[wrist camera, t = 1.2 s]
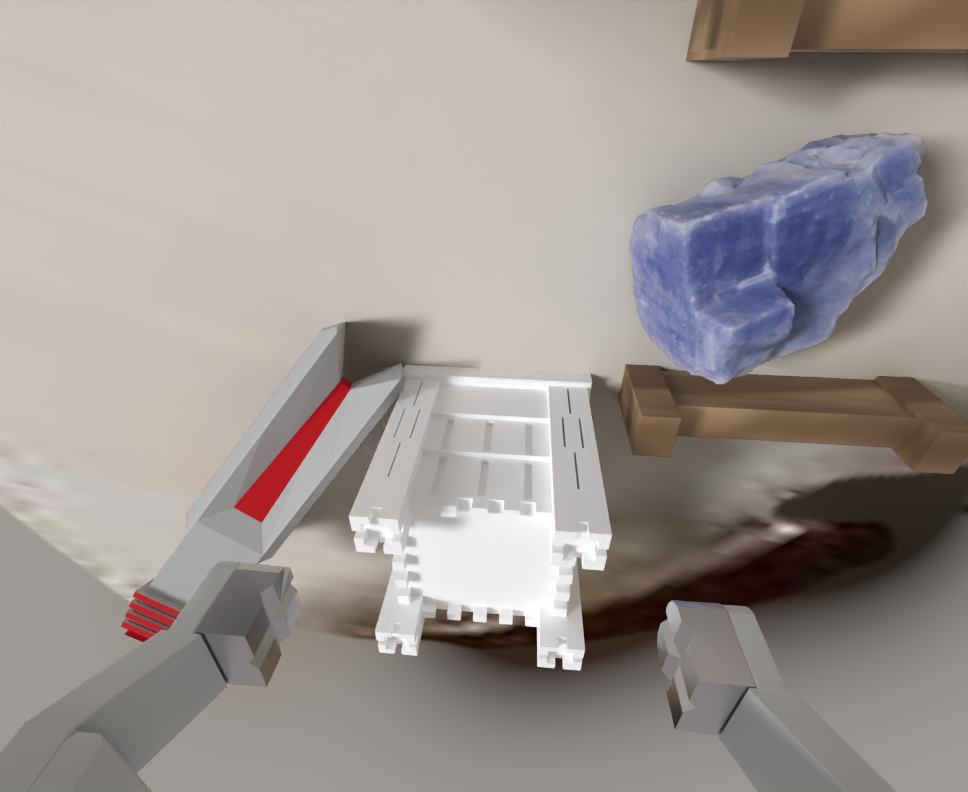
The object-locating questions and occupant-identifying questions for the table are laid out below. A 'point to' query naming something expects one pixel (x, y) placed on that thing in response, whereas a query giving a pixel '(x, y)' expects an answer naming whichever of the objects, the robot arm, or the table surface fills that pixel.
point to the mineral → (774, 252)
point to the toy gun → (270, 476)
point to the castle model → (486, 504)
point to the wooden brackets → (785, 399)
